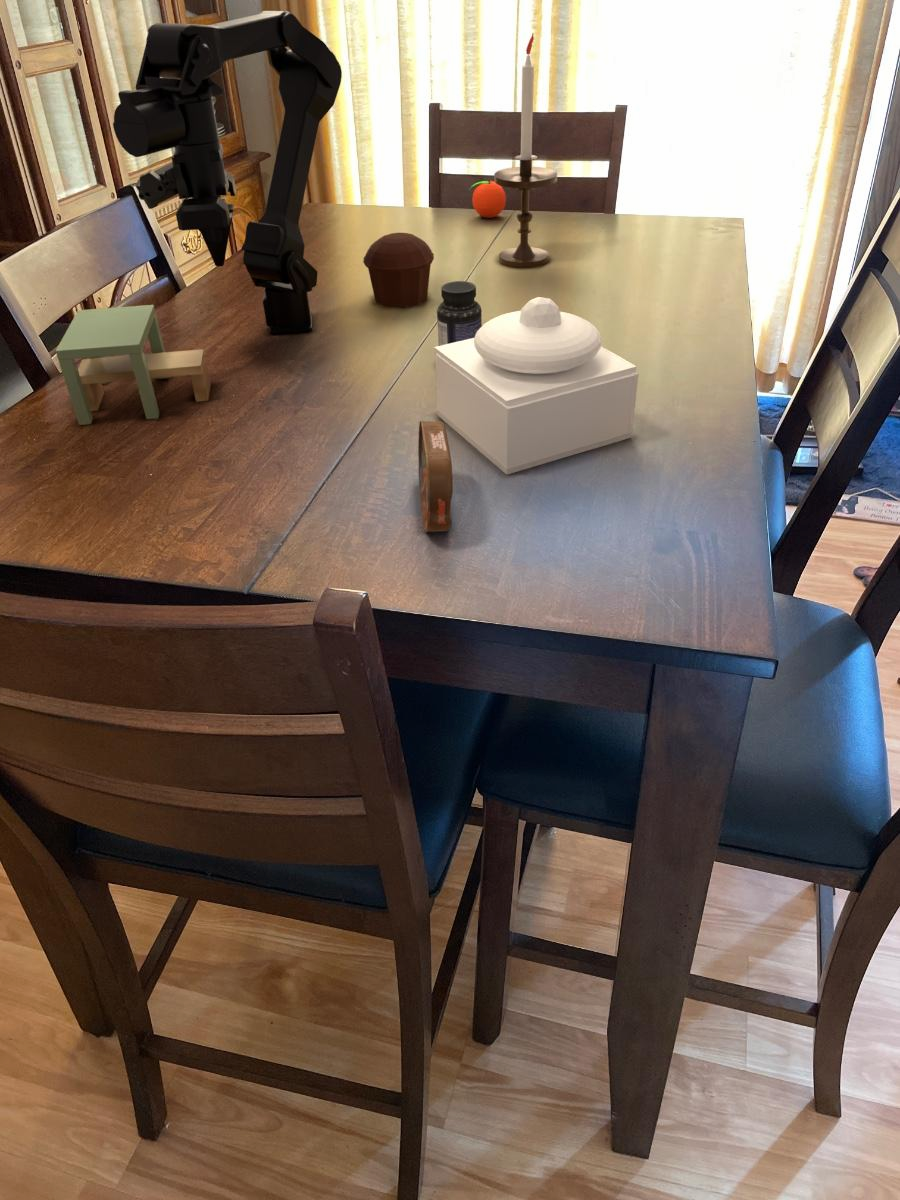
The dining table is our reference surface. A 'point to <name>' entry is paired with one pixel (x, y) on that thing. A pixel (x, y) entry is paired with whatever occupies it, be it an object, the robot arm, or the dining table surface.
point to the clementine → (488, 199)
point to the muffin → (399, 269)
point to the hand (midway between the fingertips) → (219, 265)
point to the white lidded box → (535, 388)
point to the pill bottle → (458, 313)
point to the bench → (158, 366)
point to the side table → (110, 350)
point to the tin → (435, 476)
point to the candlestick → (525, 178)
